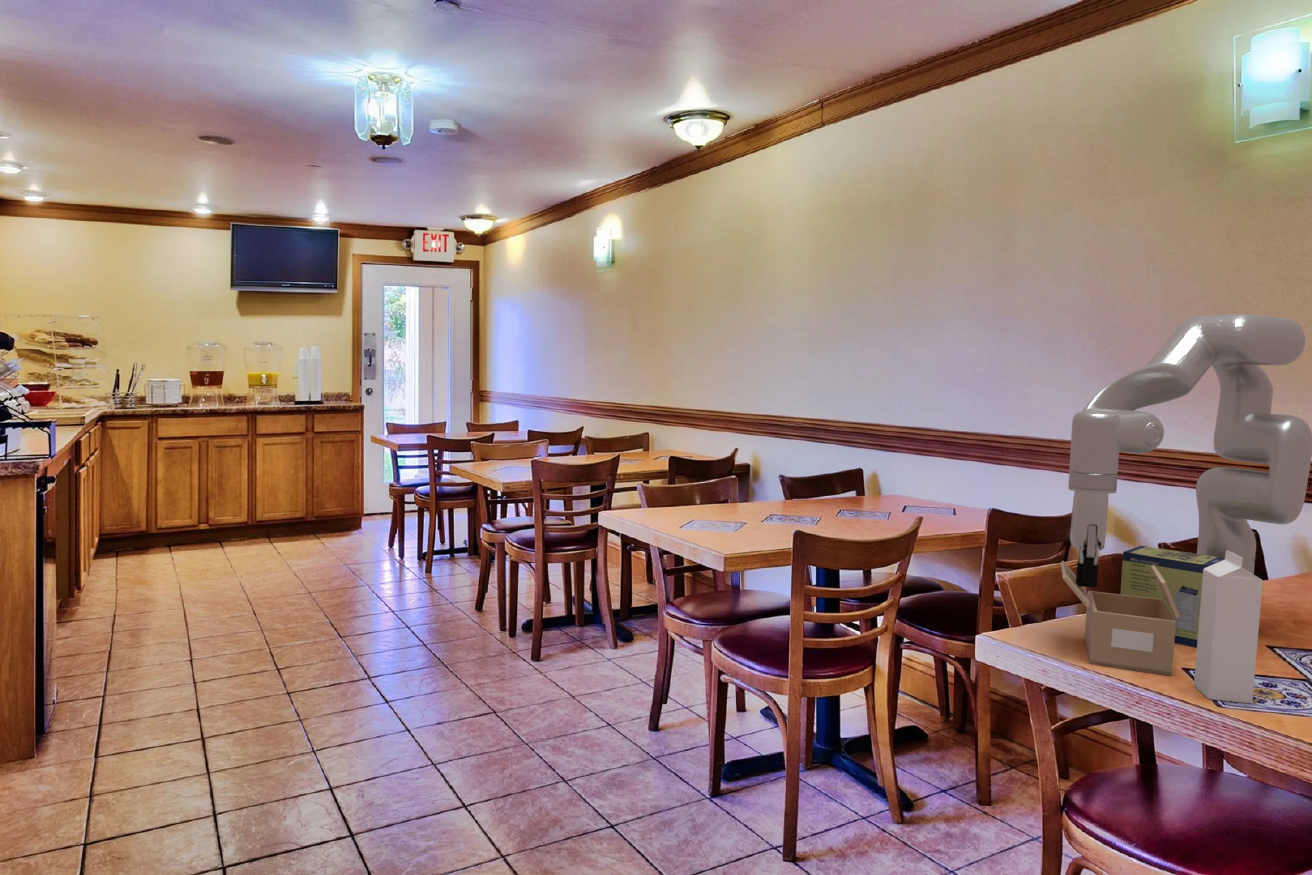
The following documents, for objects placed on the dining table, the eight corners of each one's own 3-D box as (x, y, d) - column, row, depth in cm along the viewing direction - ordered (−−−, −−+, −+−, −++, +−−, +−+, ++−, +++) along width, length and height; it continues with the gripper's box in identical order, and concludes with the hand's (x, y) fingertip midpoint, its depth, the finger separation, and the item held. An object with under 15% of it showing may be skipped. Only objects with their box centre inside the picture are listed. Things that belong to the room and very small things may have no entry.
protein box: (1133, 620, 174) (1139, 544, 173) (1223, 639, 163) (1230, 558, 162) (1115, 630, 167) (1121, 550, 166) (1208, 651, 156) (1215, 565, 155)
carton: (1084, 638, 161) (1087, 590, 160) (1158, 648, 156) (1162, 599, 156) (1089, 664, 146) (1093, 611, 146) (1171, 676, 142) (1176, 621, 141)
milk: (1235, 690, 136) (1248, 551, 134) (1252, 704, 130) (1266, 559, 129) (1192, 685, 137) (1204, 548, 136) (1207, 699, 132) (1220, 555, 130)
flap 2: (1163, 597, 155) (1150, 565, 156) (1167, 596, 155) (1154, 564, 155) (1176, 618, 141) (1161, 583, 142) (1180, 617, 141) (1165, 582, 142)
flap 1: (1082, 588, 160) (1060, 562, 161) (1085, 587, 160) (1063, 560, 161) (1087, 607, 147) (1062, 578, 148) (1090, 606, 146) (1066, 576, 148)
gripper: (1066, 476, 160) (1060, 574, 161) (1071, 486, 146) (1065, 593, 147) (1111, 479, 157) (1105, 578, 159) (1122, 489, 143) (1114, 598, 145)
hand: (1086, 585), depth 153 cm, fingers closed
